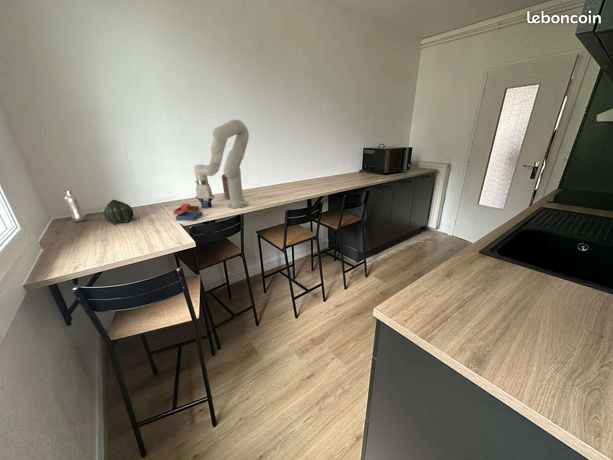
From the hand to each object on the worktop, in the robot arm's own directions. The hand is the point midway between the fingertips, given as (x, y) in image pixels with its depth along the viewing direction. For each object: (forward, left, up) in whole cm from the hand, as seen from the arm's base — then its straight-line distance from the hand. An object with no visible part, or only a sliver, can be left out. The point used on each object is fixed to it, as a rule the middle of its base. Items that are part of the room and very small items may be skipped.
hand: (206, 206), depth 187 cm
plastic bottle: (+69, +36, -1) cm, 78 cm away
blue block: (0, 0, 0) cm, 0 cm away
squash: (+40, +35, -1) cm, 53 cm away
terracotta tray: (+9, +11, 0) cm, 15 cm away
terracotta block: (+9, +12, 0) cm, 15 cm away
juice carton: (-8, -25, -1) cm, 26 cm away
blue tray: (0, +23, 0) cm, 23 cm away
